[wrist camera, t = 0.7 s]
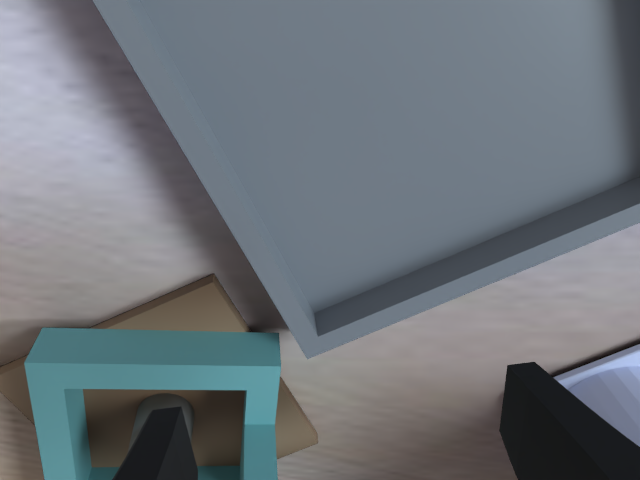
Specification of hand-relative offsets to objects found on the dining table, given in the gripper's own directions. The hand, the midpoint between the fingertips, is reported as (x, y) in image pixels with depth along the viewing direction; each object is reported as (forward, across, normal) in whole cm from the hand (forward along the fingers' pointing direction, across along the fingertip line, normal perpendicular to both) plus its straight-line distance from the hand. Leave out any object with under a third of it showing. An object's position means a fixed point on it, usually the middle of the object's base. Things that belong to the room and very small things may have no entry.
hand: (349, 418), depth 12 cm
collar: (+9, +7, +8) cm, 14 cm away
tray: (+10, -4, -5) cm, 12 cm away
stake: (+10, +7, +8) cm, 15 cm away
